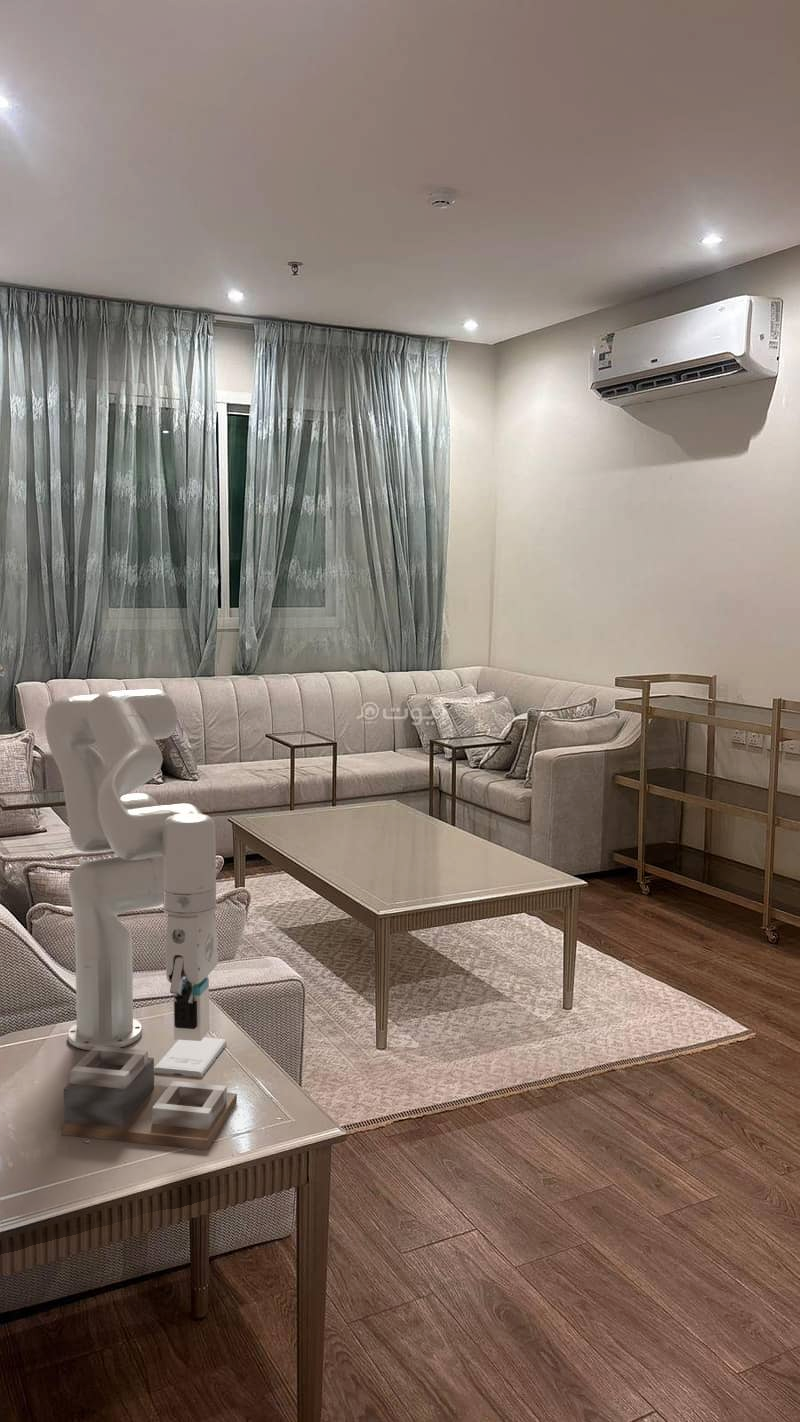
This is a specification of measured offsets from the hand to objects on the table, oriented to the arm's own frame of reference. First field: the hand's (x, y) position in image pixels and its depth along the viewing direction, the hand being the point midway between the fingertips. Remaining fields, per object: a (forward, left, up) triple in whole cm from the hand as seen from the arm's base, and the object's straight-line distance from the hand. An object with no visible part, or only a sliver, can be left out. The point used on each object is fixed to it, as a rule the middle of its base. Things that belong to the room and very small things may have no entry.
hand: (191, 1019), depth 159 cm
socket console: (-5, -4, -16) cm, 17 cm away
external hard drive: (-19, +11, -17) cm, 28 cm away
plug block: (0, 0, -2) cm, 2 cm away
